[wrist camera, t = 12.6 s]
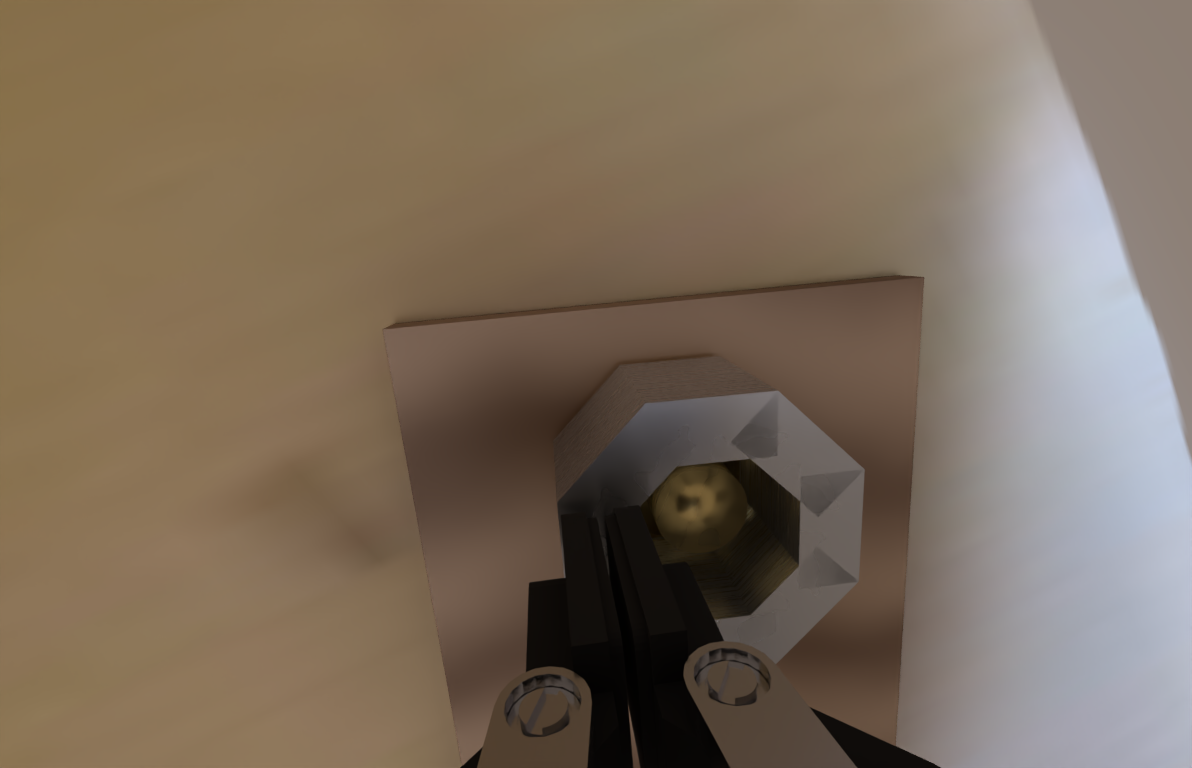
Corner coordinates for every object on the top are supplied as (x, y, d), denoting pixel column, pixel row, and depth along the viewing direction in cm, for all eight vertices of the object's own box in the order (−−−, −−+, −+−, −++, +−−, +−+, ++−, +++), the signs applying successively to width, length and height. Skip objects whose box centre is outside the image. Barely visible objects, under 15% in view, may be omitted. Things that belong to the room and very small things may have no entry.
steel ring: (833, 457, 17) (920, 520, 13) (679, 617, 18) (718, 721, 14) (667, 309, 15) (711, 329, 11) (508, 492, 16) (497, 569, 12)
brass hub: (774, 543, 18) (823, 605, 15) (577, 569, 18) (585, 639, 15) (773, 348, 17) (828, 372, 13) (556, 370, 16) (559, 400, 13)
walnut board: (870, 841, 24) (887, 872, 22) (496, 906, 22) (494, 942, 21) (899, 275, 18) (923, 277, 17) (393, 323, 17) (382, 329, 15)
